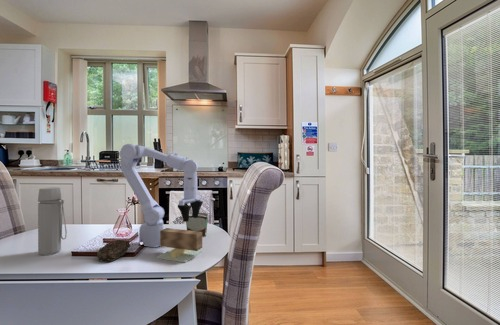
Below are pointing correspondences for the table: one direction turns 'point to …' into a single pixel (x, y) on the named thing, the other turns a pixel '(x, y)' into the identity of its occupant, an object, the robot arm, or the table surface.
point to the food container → (198, 223)
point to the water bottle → (50, 221)
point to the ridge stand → (179, 255)
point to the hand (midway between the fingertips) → (190, 219)
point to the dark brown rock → (113, 250)
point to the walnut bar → (181, 239)
